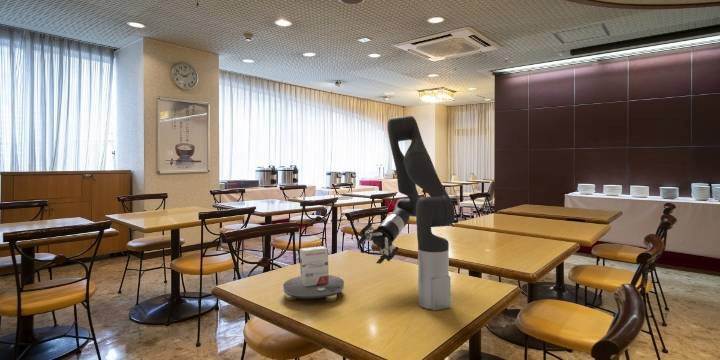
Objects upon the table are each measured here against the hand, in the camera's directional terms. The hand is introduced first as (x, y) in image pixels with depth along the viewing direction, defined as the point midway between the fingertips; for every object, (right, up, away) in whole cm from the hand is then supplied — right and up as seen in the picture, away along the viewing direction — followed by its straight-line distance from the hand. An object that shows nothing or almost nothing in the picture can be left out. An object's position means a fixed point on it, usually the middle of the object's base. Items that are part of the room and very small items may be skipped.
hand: (368, 253), depth 127 cm
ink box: (-18, -10, -1) cm, 21 cm away
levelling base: (-18, -14, 0) cm, 23 cm away
